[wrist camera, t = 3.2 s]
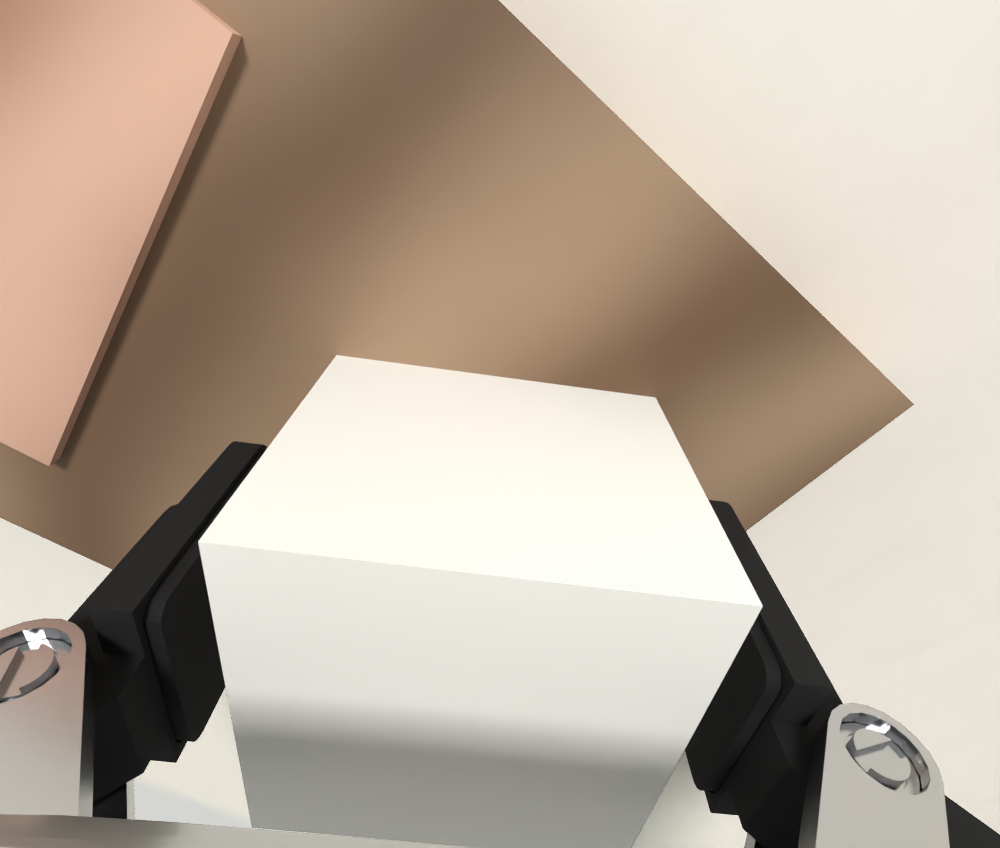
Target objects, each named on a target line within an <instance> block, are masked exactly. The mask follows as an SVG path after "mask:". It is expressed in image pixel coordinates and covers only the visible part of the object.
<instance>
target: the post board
mask: <svg viewBox="0 0 1000 848" xmlns="http://www.w3.org/2000/svg"><path fill="white" fill-rule="evenodd" d="M336 355H340V356H348V357H355V358H363V359H370V360H378V361H385V362H393V363H400V364H408V365H415V366H423V367H430V368H438V369H445V370H453V371H460V372H468V373H476V374H483V375H491V376H498V377H506V378H513V379H521V380H528V381H536V382H543V383H551V384H558V385H566V386H573V387H581V388H588V389H596V390H603V391H611V392H618V393H626V394H633V395H641V396H648V397H656V399H657V401H658V403H659V405H660V407H661V409H662V411H663V413H664V415H665V417H666V419H667V421H668V423H669V425H670V426H671V428H672V430H673V432H674V434H675V436H676V438H677V440H678V442H679V444H680V446H681V448H682V450H683V452H684V454H685V456H686V458H687V460H688V461H689V463H690V465H691V467H692V469H693V471H694V473H695V475H696V477H697V479H698V481H699V483H700V485H701V487H702V489H703V491H704V493H705V495H706V497H707V498H708V500H714V501H722V502H727V503H729V504H730V505H731V506H732V508H733V510H734V512H735V514H736V515H737V517H738V519H739V521H740V522H741V524H742V526H743V528H744V529H745V531H747V530H748V529H749V528H751V527H752V526H753V525H755V524H756V523H757V522H759V521H760V520H761V519H763V518H764V517H765V516H767V515H768V514H769V513H771V512H772V511H773V510H774V509H776V508H777V507H778V506H780V505H781V504H782V503H784V502H785V501H786V500H788V499H789V498H790V497H792V496H793V495H794V494H796V493H797V492H798V491H800V490H801V489H802V488H804V487H805V486H806V485H808V484H809V483H810V482H812V481H813V480H814V479H816V478H817V477H818V476H820V475H821V474H822V473H824V472H825V471H826V470H828V469H829V468H830V467H832V466H833V465H834V464H836V463H837V462H838V461H840V460H841V459H842V458H843V457H845V456H846V455H847V454H849V453H850V452H851V451H853V450H854V449H855V448H857V447H858V446H859V445H861V444H862V443H863V442H865V441H866V440H867V439H869V438H870V437H871V436H873V435H874V434H875V433H877V432H878V431H879V430H881V429H882V428H883V427H885V426H886V425H887V424H889V423H890V422H891V421H893V420H894V419H895V418H897V417H898V416H899V415H901V414H902V413H903V412H905V411H906V410H907V409H909V408H910V407H911V406H912V405H914V404H913V403H912V402H911V401H910V400H909V399H908V398H907V397H906V396H905V395H904V394H903V393H902V392H901V391H900V390H899V389H898V388H897V387H896V386H894V385H893V384H892V383H891V382H890V381H889V380H888V379H887V378H886V377H885V376H884V375H883V374H882V373H881V372H880V371H879V370H878V369H877V368H876V367H875V366H874V365H873V364H872V363H871V362H870V361H869V360H868V359H867V358H866V357H865V356H864V355H863V354H862V353H861V352H860V351H858V350H857V349H856V348H855V347H854V346H853V345H852V344H851V343H850V342H849V341H848V340H847V339H846V338H845V337H844V336H843V335H842V334H841V333H840V332H839V331H838V330H837V329H836V328H835V327H834V326H833V325H832V324H831V323H830V322H829V321H828V320H827V319H826V318H825V317H824V316H822V315H821V314H820V313H819V312H818V311H817V310H816V309H815V308H814V307H813V306H812V305H811V304H810V303H809V302H808V301H807V300H806V299H805V298H804V297H803V296H802V295H801V294H800V293H799V292H798V291H797V290H796V289H795V288H794V287H793V286H792V285H791V284H790V283H789V282H788V281H786V280H785V279H784V278H783V277H782V276H781V275H780V274H779V273H778V272H777V271H776V270H775V269H774V268H773V267H772V266H771V265H770V264H769V263H768V262H767V261H766V260H765V259H764V258H763V257H762V256H761V255H760V254H759V253H758V252H757V251H756V250H755V249H754V248H753V247H752V246H750V245H749V244H748V243H747V242H746V241H745V240H744V239H743V238H742V237H741V236H740V235H739V234H738V233H737V232H736V231H735V230H734V229H733V228H732V227H731V226H730V225H729V224H728V223H727V222H726V221H725V220H724V219H723V218H722V217H721V216H720V215H719V214H718V213H717V212H716V211H714V210H713V209H712V208H711V207H710V206H709V205H708V204H707V203H706V202H705V201H704V200H703V199H702V198H701V197H700V196H699V195H698V194H697V193H696V192H695V191H694V190H693V189H692V188H691V187H690V186H689V185H688V184H687V183H686V182H685V181H684V180H683V179H682V178H681V177H680V176H678V175H677V174H676V173H675V172H674V171H673V170H672V169H671V168H670V167H669V166H668V165H667V164H666V163H665V162H664V161H663V160H662V159H661V158H660V157H659V156H658V155H657V154H656V153H655V152H654V151H653V150H652V149H651V148H650V147H649V146H648V145H647V144H646V143H645V142H644V141H642V140H641V139H640V138H639V137H638V136H637V135H636V134H635V133H634V132H633V131H632V130H631V129H630V128H629V127H628V126H627V125H626V124H625V123H624V122H623V121H622V120H621V119H620V118H619V117H618V116H617V115H616V114H615V113H614V112H613V111H612V110H611V109H610V108H609V107H608V106H606V105H605V104H604V103H603V102H602V101H601V100H600V99H599V98H598V97H597V96H596V95H595V94H594V93H593V92H592V91H591V90H590V89H589V88H588V87H587V86H586V85H585V84H584V83H583V82H582V81H581V80H580V79H579V78H578V77H577V76H576V75H575V74H574V73H573V72H572V71H570V70H569V69H568V68H567V67H566V66H565V65H564V64H563V63H562V62H561V61H560V60H559V59H558V58H557V57H556V56H555V55H554V54H553V53H552V52H551V51H550V50H549V49H548V48H547V47H546V46H545V45H544V44H543V43H542V42H541V41H540V40H539V39H538V38H537V37H536V36H534V35H533V34H532V33H531V32H530V31H529V30H528V29H527V28H526V27H525V26H524V25H523V24H522V23H521V22H520V21H519V20H518V19H517V18H516V17H515V16H514V15H513V14H512V13H511V12H510V11H509V10H508V9H507V8H506V7H505V6H504V5H503V4H502V3H501V2H500V1H498V0H0V518H2V519H4V520H7V521H9V522H11V523H13V524H15V525H17V526H20V527H22V528H24V529H26V530H28V531H30V532H33V533H35V534H37V535H39V536H41V537H43V538H46V539H48V540H50V541H52V542H54V543H56V544H59V545H61V546H63V547H65V548H67V549H69V550H72V551H74V552H76V553H78V554H80V555H82V556H85V557H87V558H89V559H91V560H93V561H95V562H98V563H100V564H102V565H104V566H106V567H108V568H111V569H114V568H115V567H116V566H117V565H118V563H119V562H120V561H121V560H122V559H123V558H124V557H125V556H126V554H127V553H128V552H129V551H130V550H131V549H132V548H133V546H134V545H135V544H136V543H137V542H138V541H139V540H140V539H141V537H142V536H143V535H144V534H145V533H146V532H147V531H148V530H149V528H150V527H151V526H152V525H153V524H154V523H155V522H156V520H157V519H158V518H159V517H160V516H161V515H162V514H163V513H164V512H165V511H166V510H167V509H168V508H169V507H170V506H173V505H175V504H178V503H179V502H180V501H181V500H182V499H183V497H184V496H185V495H186V494H187V493H188V492H189V491H190V489H191V488H192V487H193V486H194V485H195V484H196V482H197V481H198V480H199V479H200V478H201V477H202V476H203V474H204V473H205V472H206V471H207V470H208V469H209V467H210V466H211V465H212V464H213V463H214V462H215V461H216V459H217V458H218V457H219V456H220V455H221V454H222V452H223V451H224V450H225V449H226V448H227V447H228V446H229V444H231V443H232V442H234V441H238V442H246V443H254V444H263V445H265V446H267V448H268V447H269V445H270V444H271V443H272V441H273V440H274V439H275V437H276V436H277V435H278V433H279V432H280V431H281V429H282V428H283V427H284V425H285V424H286V423H287V421H288V420H289V418H290V417H291V416H292V414H293V413H294V412H295V410H296V409H297V408H298V406H299V405H300V404H301V402H302V401H303V400H304V398H305V397H306V396H307V394H308V393H309V392H310V390H311V389H312V388H313V386H314V385H315V383H316V382H317V381H318V379H319V378H320V377H321V375H322V374H323V373H324V371H325V370H326V369H327V367H328V366H329V365H330V363H331V362H332V361H333V359H334V358H335V357H336Z"/></svg>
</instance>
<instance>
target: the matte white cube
mask: <svg viewBox="0 0 1000 848" xmlns="http://www.w3.org/2000/svg"><path fill="white" fill-rule="evenodd" d="M198 544H199V549H200V555H201V560H202V565H203V571H204V576H205V581H206V586H207V592H208V597H209V602H210V608H211V613H212V618H213V623H214V629H215V634H216V639H217V645H218V650H219V655H220V661H221V666H222V671H223V676H224V682H225V687H226V692H227V698H228V703H229V708H230V714H231V719H232V724H233V729H234V735H235V740H236V745H237V751H238V756H239V761H240V767H241V772H242V777H243V782H244V788H245V793H246V798H247V804H248V809H249V814H250V819H251V825H252V828H263V829H274V830H285V831H297V832H308V833H319V834H331V835H342V836H353V837H364V838H376V839H387V840H398V841H410V842H421V843H432V844H444V845H455V846H466V847H477V848H632V846H633V844H634V842H635V840H636V838H637V836H638V835H639V833H640V831H641V829H642V827H643V825H644V824H645V822H646V820H647V818H648V816H649V814H650V813H651V811H652V809H653V807H654V805H655V803H656V802H657V800H658V798H659V796H660V794H661V792H662V791H663V789H664V787H665V785H666V783H667V781H668V780H669V778H670V776H671V774H672V772H673V770H674V769H675V767H676V765H677V763H678V761H679V759H680V758H681V756H682V754H683V752H684V750H685V748H686V747H687V745H688V743H689V741H690V739H691V737H692V736H693V734H694V732H695V730H696V728H697V726H698V725H699V723H700V721H701V719H702V717H703V715H704V714H705V712H706V710H707V708H708V706H709V704H710V702H711V701H712V699H713V697H714V695H715V693H716V691H717V690H718V688H719V686H720V684H721V682H722V680H723V679H724V677H725V675H726V673H727V671H728V669H729V668H730V666H731V664H732V662H733V660H734V658H735V657H736V655H737V653H738V651H739V649H740V647H741V646H742V644H743V642H744V640H745V638H746V636H747V635H748V633H749V631H750V629H751V627H752V625H753V624H754V622H755V620H756V618H757V616H758V614H759V613H760V611H761V609H762V607H763V605H762V604H761V602H760V600H759V598H758V596H757V594H756V592H755V590H754V588H753V586H752V584H751V582H750V580H749V578H748V576H747V574H746V572H745V570H744V568H743V567H742V565H741V563H740V561H739V559H738V557H737V555H736V553H735V551H734V549H733V547H732V545H731V543H730V541H729V539H728V537H727V535H726V533H725V532H724V530H723V528H722V526H721V524H720V522H719V520H718V518H717V516H716V514H715V512H714V510H713V508H712V506H711V504H710V502H709V500H708V498H707V497H706V495H705V493H704V491H703V489H702V487H701V485H700V483H699V481H698V479H697V477H696V475H695V473H694V471H693V469H692V467H691V465H690V463H689V461H688V460H687V458H686V456H685V454H684V452H683V450H682V448H681V446H680V444H679V442H678V440H677V438H676V436H675V434H674V432H673V430H672V428H671V426H670V425H669V423H668V421H667V419H666V417H665V415H664V413H663V411H662V409H661V407H660V405H659V403H658V401H657V399H656V397H648V396H641V395H633V394H626V393H618V392H611V391H603V390H596V389H588V388H581V387H573V386H566V385H558V384H551V383H543V382H536V381H528V380H521V379H513V378H506V377H498V376H491V375H483V374H476V373H468V372H460V371H453V370H445V369H438V368H430V367H423V366H415V365H408V364H400V363H393V362H385V361H378V360H370V359H363V358H355V357H348V356H340V355H336V357H335V358H334V359H333V361H332V362H331V363H330V365H329V366H328V367H327V369H326V370H325V371H324V373H323V374H322V375H321V377H320V378H319V379H318V381H317V382H316V383H315V385H314V386H313V388H312V389H311V390H310V392H309V393H308V394H307V396H306V397H305V398H304V400H303V401H302V402H301V404H300V405H299V406H298V408H297V409H296V410H295V412H294V413H293V414H292V416H291V417H290V418H289V420H288V421H287V423H286V424H285V425H284V427H283V428H282V429H281V431H280V432H279V433H278V435H277V436H276V437H275V439H274V440H273V441H272V443H271V444H270V445H269V447H268V448H267V449H266V451H265V452H264V454H263V455H262V456H261V458H260V459H259V460H258V462H257V463H256V464H255V466H254V467H253V468H252V470H251V471H250V472H249V474H248V475H247V476H246V478H245V479H244V480H243V482H242V483H241V485H240V486H239V487H238V489H237V490H236V491H235V493H234V494H233V495H232V497H231V498H230V499H229V501H228V502H227V503H226V505H225V506H224V507H223V509H222V510H221V511H220V513H219V514H218V516H217V517H216V518H215V520H214V521H213V522H212V524H211V525H210V526H209V528H208V529H207V530H206V532H205V533H204V534H203V536H202V537H201V538H200V540H199V541H198Z"/></svg>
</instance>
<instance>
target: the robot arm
mask: <svg viewBox="0 0 1000 848" xmlns="http://www.w3.org/2000/svg"><path fill="white" fill-rule="evenodd" d="M266 449H267V446H265V445H263V444H254V443H246V442H238V441H234V442H232V443H231V444H229V446H228V447H227V448H226V449H225V450H224V451H223V452H222V454H221V455H220V456H219V457H218V458H217V459H216V461H215V462H214V463H213V464H212V465H211V466H210V467H209V469H208V470H207V471H206V472H205V473H204V474H203V476H202V477H201V478H200V479H199V480H198V481H197V482H196V484H195V485H194V486H193V487H192V488H191V489H190V491H189V492H188V493H187V494H186V495H185V496H184V497H183V499H182V500H181V501H180V502H179V503H178V504H175V505H173V506H170V507H169V508H168V509H167V510H166V511H165V512H164V513H163V514H162V515H161V516H160V517H159V518H158V519H157V520H156V522H155V523H154V524H153V525H152V526H151V527H150V528H149V530H148V531H147V532H146V533H145V534H144V535H143V536H142V537H141V539H140V540H139V541H138V542H137V543H136V544H135V545H134V546H133V548H132V549H131V550H130V551H129V552H128V553H127V554H126V556H125V557H124V558H123V559H122V560H121V561H120V562H119V563H118V565H117V566H116V567H115V568H114V569H113V570H112V571H111V572H110V574H109V575H108V576H107V577H106V578H105V579H104V580H103V582H102V583H101V584H100V585H99V586H98V587H97V588H96V589H95V591H94V592H93V593H92V594H91V595H90V596H89V597H88V598H87V600H86V601H85V602H84V603H83V604H82V605H81V606H80V608H79V609H78V610H77V611H76V612H75V613H74V614H73V615H72V617H71V618H70V619H69V620H68V621H66V620H63V619H39V620H33V621H27V622H23V623H20V624H17V625H14V626H11V627H8V628H6V629H3V630H1V631H0V848H473V847H462V846H451V845H439V844H428V843H416V842H405V841H394V840H382V839H371V838H359V837H347V836H335V835H323V834H311V833H299V832H287V831H275V830H263V829H251V828H238V827H226V826H215V825H203V824H191V823H178V822H162V821H147V820H135V810H134V809H135V808H134V778H135V777H137V776H139V775H140V774H142V773H143V772H144V771H145V769H146V767H147V765H148V763H149V762H150V760H154V761H165V762H177V760H178V758H179V756H180V754H181V752H182V750H183V748H184V747H185V745H186V743H187V741H192V742H194V741H196V740H197V739H198V738H199V737H200V735H201V733H202V732H203V730H204V728H205V726H206V724H207V722H208V720H209V718H210V716H211V714H212V712H213V710H214V708H215V706H216V704H217V702H218V700H219V698H220V696H221V694H222V692H223V690H224V688H225V682H224V676H223V671H222V666H221V661H220V655H219V650H218V645H217V639H216V634H215V629H214V623H213V618H212V613H211V608H210V602H209V597H208V592H207V586H206V581H205V576H204V571H203V565H202V560H201V555H200V549H199V544H198V541H199V540H200V538H201V537H202V536H203V534H204V533H205V532H206V530H207V529H208V528H209V526H210V525H211V524H212V522H213V521H214V520H215V518H216V517H217V516H218V514H219V513H220V511H221V510H222V509H223V507H224V506H225V505H226V503H227V502H228V501H229V499H230V498H231V497H232V495H233V494H234V493H235V491H236V490H237V489H238V487H239V486H240V485H241V483H242V482H243V480H244V479H245V478H246V476H247V475H248V474H249V472H250V471H251V470H252V468H253V467H254V466H255V464H256V463H257V462H258V460H259V459H260V458H261V456H262V455H263V454H264V452H265V451H266ZM709 502H710V504H711V506H712V508H713V510H714V512H715V514H716V516H717V518H718V520H719V522H720V524H721V526H722V528H723V530H724V532H725V533H726V535H727V537H728V539H729V541H730V543H731V545H732V547H733V549H734V551H735V553H736V555H737V557H738V559H739V561H740V563H741V565H742V567H743V568H744V570H745V572H746V574H747V576H748V578H749V580H750V582H751V584H752V586H753V588H754V590H755V592H756V594H757V596H758V598H759V600H760V602H761V604H762V605H763V607H762V609H761V611H760V613H759V614H758V616H757V618H756V620H755V622H754V624H753V625H752V627H751V629H750V631H749V633H748V635H747V636H746V638H745V640H744V642H743V644H742V646H741V647H740V649H739V651H738V653H737V655H736V657H735V658H734V660H733V662H732V664H731V666H730V668H729V669H728V671H727V673H726V675H725V677H724V679H723V680H722V682H721V684H720V686H719V688H718V690H717V691H716V693H715V695H714V697H713V699H712V701H711V702H710V704H709V706H708V708H707V710H706V712H705V714H704V715H703V717H702V719H701V721H700V723H699V725H698V726H697V728H696V730H695V732H694V734H693V736H692V737H691V739H690V741H689V743H688V745H687V747H686V748H685V752H686V755H687V759H688V763H689V766H690V770H691V773H692V777H693V780H694V783H695V785H696V787H697V788H698V789H699V790H704V791H705V794H706V798H707V801H708V805H709V808H710V812H711V813H719V814H730V815H739V818H740V821H741V824H742V827H743V829H744V830H745V831H746V832H747V837H746V842H745V847H744V848H1000V835H999V834H998V833H997V832H995V831H994V830H992V829H991V828H990V827H988V826H987V825H985V824H984V823H983V822H981V821H980V820H979V819H977V818H976V817H974V816H973V815H972V814H970V813H969V812H967V811H966V810H965V809H963V808H962V807H961V806H959V805H958V804H956V803H955V802H954V801H952V800H951V799H949V798H948V797H947V796H945V795H944V785H943V781H942V777H941V774H940V770H939V768H938V766H937V764H936V763H935V761H934V759H933V758H932V756H931V754H930V752H929V751H928V750H927V749H926V748H925V747H924V745H923V744H922V743H921V742H920V741H919V740H918V738H917V737H916V736H915V735H913V734H912V733H911V732H910V731H909V730H908V729H907V728H905V727H904V726H903V725H902V724H901V723H899V722H898V721H896V720H895V719H893V718H892V717H890V716H888V715H887V714H885V713H884V712H881V711H879V710H877V709H874V708H872V707H869V706H867V705H862V704H856V703H847V704H843V703H842V701H841V700H840V698H839V696H838V694H837V692H836V691H835V689H834V687H833V685H832V683H831V682H830V680H829V678H828V676H827V675H826V673H825V671H824V669H823V667H822V666H821V664H820V662H819V660H818V659H817V657H816V655H815V653H814V652H813V650H812V648H811V646H810V644H809V643H808V641H807V639H806V637H805V636H804V634H803V632H802V630H801V629H800V627H799V625H798V623H797V621H796V620H795V618H794V616H793V614H792V613H791V611H790V609H789V607H788V606H787V604H786V602H785V600H784V598H783V597H782V595H781V593H780V591H779V590H778V588H777V586H776V584H775V583H774V581H773V579H772V577H771V575H770V574H769V572H768V570H767V568H766V567H765V565H764V563H763V561H762V560H761V558H760V556H759V554H758V552H757V551H756V549H755V547H754V545H753V544H752V542H751V540H750V538H749V537H748V535H747V533H746V531H745V529H744V528H743V526H742V524H741V522H740V521H739V519H738V517H737V515H736V514H735V512H734V510H733V508H732V506H731V505H730V504H729V503H727V502H722V501H714V500H709Z"/></svg>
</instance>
